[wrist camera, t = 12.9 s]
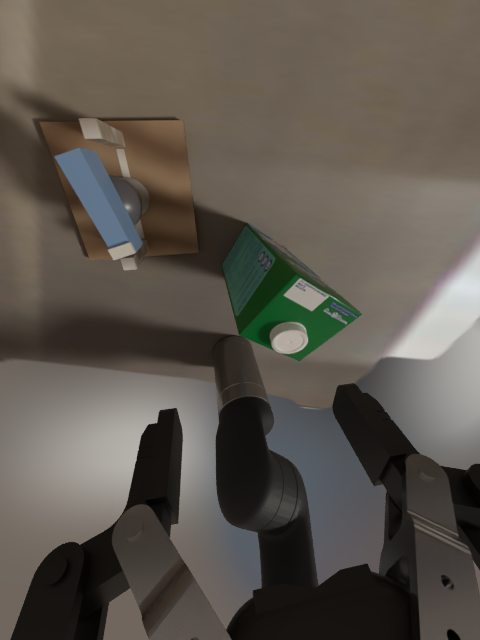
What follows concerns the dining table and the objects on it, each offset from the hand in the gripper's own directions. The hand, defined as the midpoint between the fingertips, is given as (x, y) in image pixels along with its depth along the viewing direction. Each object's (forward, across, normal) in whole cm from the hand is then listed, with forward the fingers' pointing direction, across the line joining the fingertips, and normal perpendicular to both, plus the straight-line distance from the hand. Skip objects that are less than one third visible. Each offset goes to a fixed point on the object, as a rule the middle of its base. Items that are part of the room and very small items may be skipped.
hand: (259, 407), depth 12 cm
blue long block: (+27, +12, -7) cm, 30 cm away
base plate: (+36, +12, -7) cm, 39 cm away
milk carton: (+36, -7, +4) cm, 37 cm away
